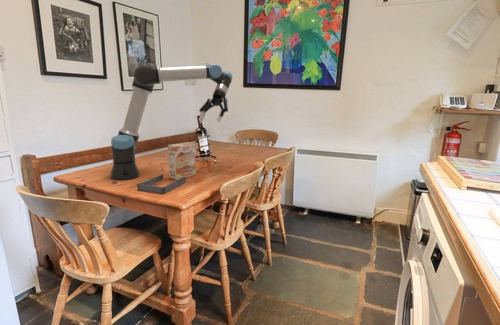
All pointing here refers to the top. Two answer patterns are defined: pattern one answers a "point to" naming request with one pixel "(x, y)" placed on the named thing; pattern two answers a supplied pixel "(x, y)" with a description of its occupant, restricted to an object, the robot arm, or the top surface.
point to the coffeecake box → (181, 160)
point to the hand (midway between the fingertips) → (209, 121)
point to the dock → (162, 190)
